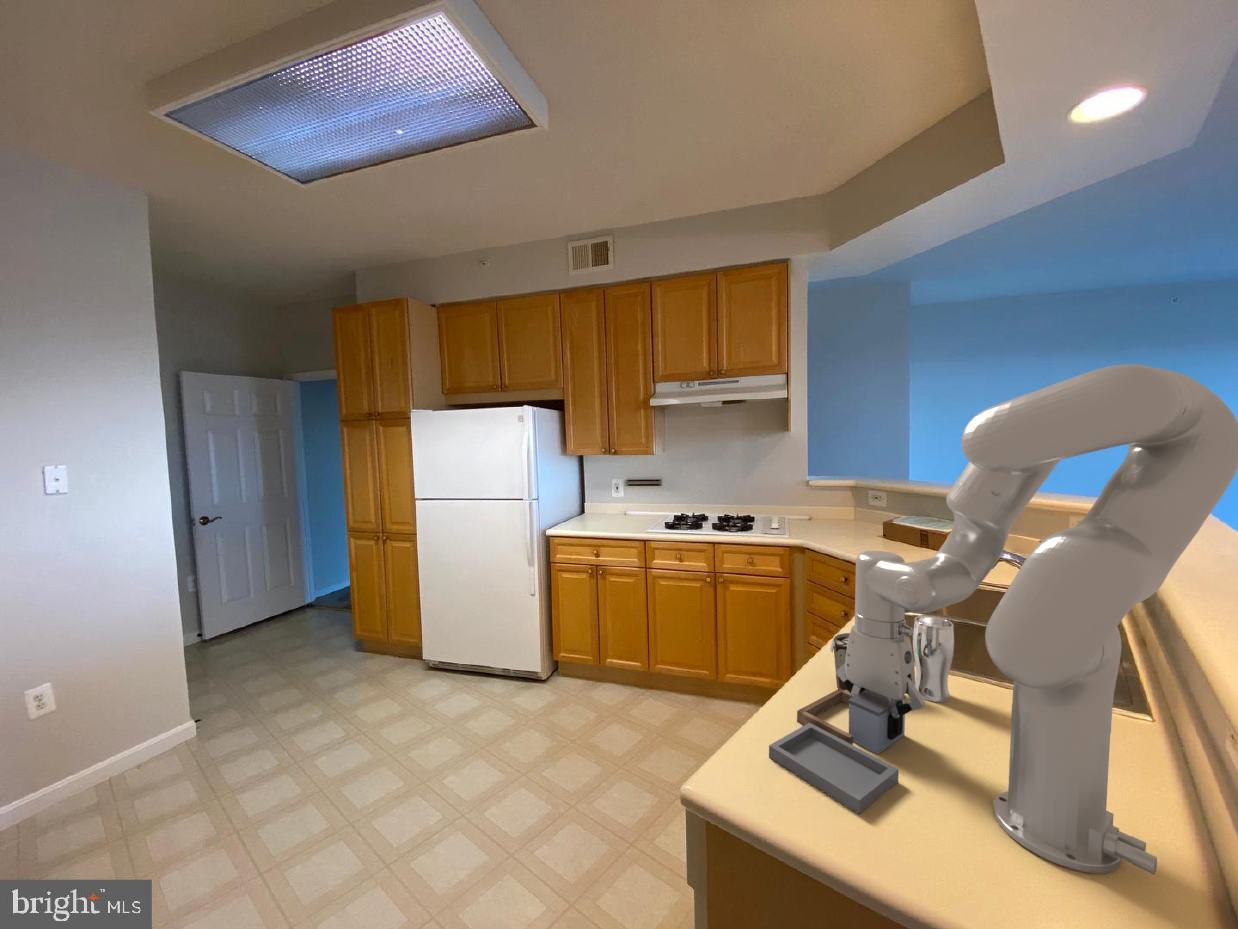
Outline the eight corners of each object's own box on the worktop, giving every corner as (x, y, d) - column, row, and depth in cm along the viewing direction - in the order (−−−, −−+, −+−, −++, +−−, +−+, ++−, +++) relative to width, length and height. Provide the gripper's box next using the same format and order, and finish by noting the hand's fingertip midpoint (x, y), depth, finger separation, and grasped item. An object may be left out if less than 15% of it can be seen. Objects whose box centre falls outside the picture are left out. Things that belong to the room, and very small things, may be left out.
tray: (898, 782, 75) (898, 769, 75) (858, 814, 68) (859, 800, 68) (809, 733, 87) (809, 722, 87) (768, 757, 81) (769, 745, 80)
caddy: (905, 735, 86) (906, 695, 86) (878, 755, 81) (878, 713, 81) (875, 721, 91) (876, 684, 90) (847, 739, 85) (848, 699, 85)
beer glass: (960, 704, 96) (963, 628, 95) (924, 704, 96) (926, 628, 96) (937, 686, 103) (940, 615, 102) (904, 686, 103) (906, 615, 103)
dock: (891, 721, 91) (891, 710, 91) (849, 749, 83) (849, 737, 82) (839, 698, 99) (840, 688, 99) (796, 721, 91) (797, 710, 91)
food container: (881, 678, 107) (882, 632, 106) (894, 693, 101) (895, 645, 100) (821, 676, 108) (822, 630, 107) (830, 690, 102) (832, 642, 101)
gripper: (944, 635, 80) (941, 745, 81) (843, 607, 94) (842, 701, 95) (922, 647, 76) (919, 763, 77) (820, 615, 90) (819, 713, 90)
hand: (877, 727), depth 86 cm, fingers closed on caddy, 5 cm apart
